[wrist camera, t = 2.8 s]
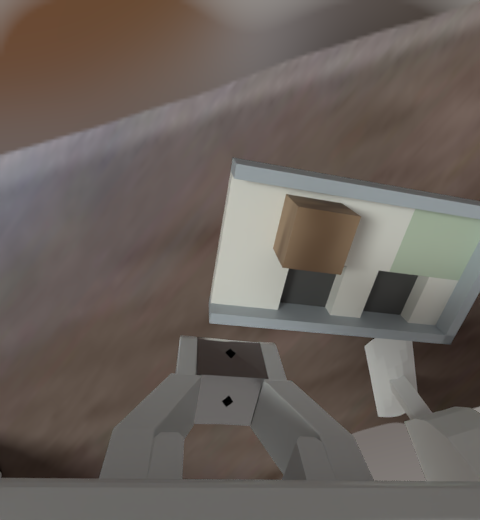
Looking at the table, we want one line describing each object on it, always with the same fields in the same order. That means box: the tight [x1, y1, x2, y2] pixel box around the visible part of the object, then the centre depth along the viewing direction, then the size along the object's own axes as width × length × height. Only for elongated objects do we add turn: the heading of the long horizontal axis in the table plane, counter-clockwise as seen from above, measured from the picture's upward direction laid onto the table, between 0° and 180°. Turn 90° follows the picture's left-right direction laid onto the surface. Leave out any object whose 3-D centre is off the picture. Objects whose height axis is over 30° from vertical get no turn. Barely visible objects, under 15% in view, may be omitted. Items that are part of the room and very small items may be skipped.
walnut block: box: [273, 194, 361, 275], centre depth 24 cm, size 4×4×4 cm
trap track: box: [209, 158, 480, 344], centre depth 27 cm, size 23×13×3 cm, turn 80°
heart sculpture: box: [365, 338, 480, 482], centre depth 28 cm, size 16×5×18 cm, turn 18°
